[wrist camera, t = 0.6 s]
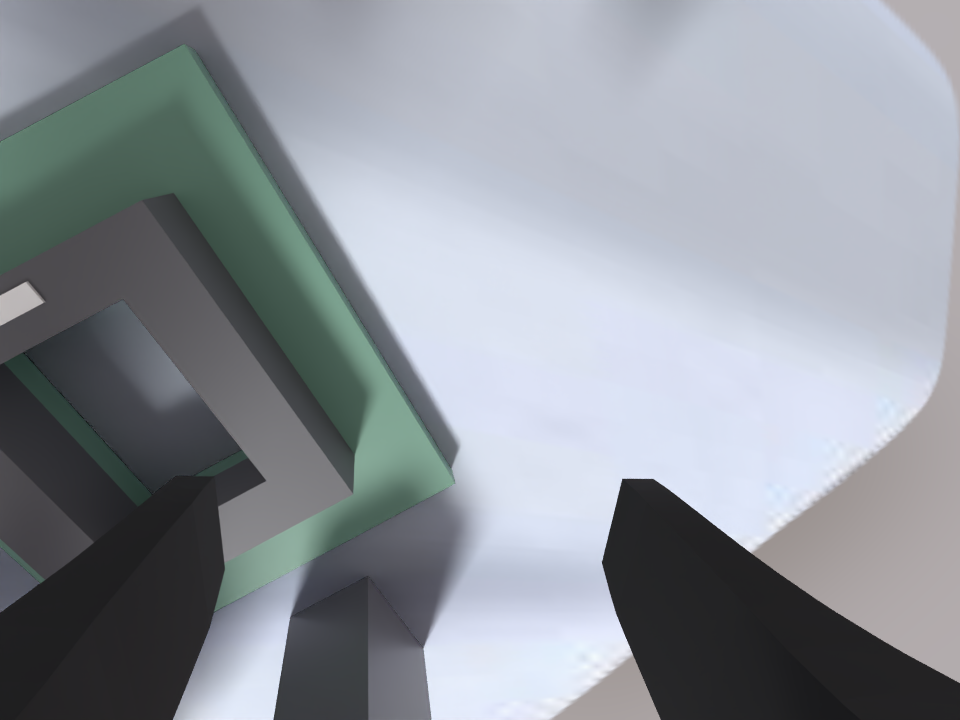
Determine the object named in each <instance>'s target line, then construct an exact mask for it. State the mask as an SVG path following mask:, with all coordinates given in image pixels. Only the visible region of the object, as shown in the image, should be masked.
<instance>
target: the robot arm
mask: <svg viewBox="0 0 960 720" xmlns="http://www.w3.org/2000/svg"><path fill="white" fill-rule="evenodd" d="M602 564H603V568H604V572H605V576H606V580H607V583H608V587H609V591H610V594H611V598H612V601H613V604H614V608H615V611H616V614H617V617H618V619H619V622H620V624H621V627H622V629H623V632H624V634H625V636H626V639H627V641H628V644H629V646H630V648H631V651H632V653H633V656H634V658H635V660H636V663H637V665H638V667H639V670H640V672H641V674H642V676H643V679H644V681H645V684H646V686H647V688H648V690H649V693H650V695H651V697H652V700H653V702H654V705H655V707H656V709H657V712H658V714H659V716H660V719H661V720H960V683H958V682H957V681H955V680H953V679H951V678H949V677H947V676H945V675H944V674H942V673H940V672H938V671H936V670H934V669H932V668H931V667H929V666H927V665H925V664H923V663H921V662H919V661H917V660H916V659H914V658H912V657H910V656H908V655H907V654H905V653H903V652H901V651H900V650H898V649H896V648H894V647H893V646H891V645H889V644H887V643H886V642H884V641H882V640H881V639H879V638H877V637H876V636H874V635H872V634H871V633H869V632H867V631H866V630H864V629H862V628H861V627H859V626H858V625H856V624H854V623H853V622H851V621H850V620H848V619H846V618H844V617H843V616H841V615H840V614H838V613H836V612H835V611H833V610H832V609H830V608H829V607H827V606H826V605H824V604H823V603H821V602H820V601H818V600H816V599H815V598H813V597H812V596H811V595H809V594H808V593H806V592H805V591H803V590H802V589H800V588H799V587H798V586H796V585H795V584H793V583H792V582H790V581H789V580H787V579H786V578H785V577H783V576H781V575H780V574H779V573H777V572H776V571H774V570H773V569H772V568H770V567H769V566H767V565H766V564H765V563H764V562H762V561H761V560H760V559H758V558H757V557H755V556H754V555H753V554H751V553H750V552H749V551H747V550H746V549H745V548H743V547H742V546H741V545H739V544H738V543H737V542H736V541H734V540H733V539H732V538H730V537H729V536H728V535H726V534H725V533H724V532H723V531H721V530H720V529H719V528H717V527H716V526H715V525H713V524H712V523H711V522H710V521H708V520H707V519H706V518H705V517H703V516H702V515H701V514H699V513H698V512H697V511H696V510H694V509H693V508H692V507H690V506H689V505H688V504H687V503H685V502H684V501H683V500H681V499H680V498H679V497H678V496H676V495H675V494H674V493H672V492H671V491H670V490H668V489H667V488H665V487H664V486H663V485H661V484H660V483H658V482H657V481H655V480H654V479H622V483H621V487H620V491H619V495H618V499H617V503H616V507H615V511H614V515H613V520H612V524H611V528H610V532H609V536H608V540H607V544H606V548H605V552H604V556H603V561H602ZM224 572H225V563H224V554H223V545H222V537H221V528H220V519H219V510H218V501H217V492H216V483H215V476H176V477H174V478H173V479H172V480H170V481H169V482H168V483H167V484H165V485H164V486H163V487H162V488H160V489H159V490H158V491H157V492H155V493H154V494H153V495H152V496H151V497H149V498H148V499H147V500H146V501H145V502H143V503H142V504H141V505H140V506H138V507H137V508H136V509H135V510H134V511H132V512H131V513H130V514H129V515H128V516H126V517H125V518H124V519H123V520H121V521H120V522H119V523H118V524H117V525H115V526H114V527H113V528H112V529H110V530H109V531H108V532H107V533H105V534H104V535H103V536H102V537H100V538H99V539H98V540H97V541H95V542H94V543H93V544H92V545H90V546H89V547H88V548H87V549H85V550H84V551H83V552H82V553H80V554H79V555H78V556H77V557H75V558H74V559H73V560H71V561H70V562H69V563H67V564H66V565H65V566H63V567H62V568H61V569H59V570H58V571H57V572H55V573H54V574H52V575H51V576H50V577H48V578H47V579H46V580H44V581H43V582H42V583H40V584H39V585H38V586H36V587H35V588H33V589H32V590H31V591H29V592H28V593H27V594H25V595H24V596H23V597H21V598H20V599H18V600H17V601H16V602H14V603H13V604H12V605H10V606H9V607H8V608H6V609H5V610H3V611H2V612H1V613H0V720H173V718H174V715H175V713H176V710H177V708H178V705H179V703H180V700H181V698H182V695H183V693H184V691H185V688H186V686H187V683H188V681H189V678H190V676H191V673H192V671H193V668H194V666H195V663H196V661H197V658H198V656H199V653H200V651H201V648H202V646H203V643H204V640H205V638H206V635H207V633H208V630H209V628H210V624H211V620H212V617H213V613H214V610H215V606H216V603H217V599H218V595H219V591H220V587H221V583H222V579H223V576H224Z"/></svg>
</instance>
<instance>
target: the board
mask: <svg viewBox="0 0 960 720" xmlns="http://www.w3.org/2000/svg"><path fill="white" fill-rule="evenodd" d="M122 299H123V300H124V301H125V302H126V304H127V305H128V306H129V307H130V309H131V310H132V311H133V312H134V314H135V315H136V316H137V317H138V319H139V320H140V321H141V323H142V324H143V325H144V326H145V328H146V329H147V330H148V331H149V333H150V334H151V335H152V336H153V338H154V339H155V340H156V342H157V343H158V344H159V345H160V347H161V348H162V349H163V350H164V352H165V353H166V354H167V355H168V357H169V358H170V359H171V360H172V362H173V363H174V364H175V366H176V367H177V368H178V369H179V371H180V372H181V373H182V374H183V376H184V377H185V378H186V379H187V381H188V382H189V383H190V385H191V386H192V387H193V388H194V390H195V391H196V392H197V393H198V395H199V396H200V397H201V398H202V400H203V401H204V402H205V404H206V405H207V406H208V407H209V409H210V410H211V411H212V412H213V414H214V415H215V416H216V417H217V419H218V420H219V421H220V423H221V424H222V425H223V426H224V428H225V429H226V430H227V431H228V433H229V434H230V435H231V436H232V438H233V439H234V440H235V441H236V443H237V444H238V445H239V447H240V448H241V449H242V450H241V451H239V452H237V453H235V454H233V455H232V456H230V457H228V458H226V459H224V460H222V461H220V462H218V463H216V464H215V465H213V466H211V467H209V468H207V469H205V470H203V471H201V472H200V473H198V474H196V475H194V476H215V483H216V492H217V501H218V510H219V519H220V528H221V537H222V545H223V554H224V563H225V572H224V576H223V579H222V583H221V587H220V591H219V595H218V599H217V603H216V606H215V610H214V612H215V611H217V610H219V609H221V608H223V607H225V606H227V605H228V604H230V603H232V602H234V601H236V600H238V599H240V598H242V597H243V596H245V595H247V594H249V593H251V592H253V591H255V590H257V589H258V588H260V587H262V586H264V585H266V584H268V583H270V582H272V581H273V580H275V579H277V578H279V577H281V576H283V575H285V574H287V573H288V572H290V571H292V570H294V569H296V568H298V567H300V566H302V565H303V564H305V563H307V562H309V561H311V560H313V559H315V558H317V557H318V556H320V555H322V554H324V553H326V552H328V551H330V550H332V549H333V548H335V547H337V546H339V545H341V544H343V543H345V542H347V541H348V540H350V539H352V538H354V537H356V536H358V535H360V534H362V533H363V532H365V531H367V530H369V529H371V528H373V527H375V526H377V525H378V524H380V523H382V522H384V521H386V520H388V519H390V518H392V517H393V516H395V515H397V514H399V513H401V512H403V511H405V510H407V509H408V508H410V507H412V506H414V505H416V504H418V503H420V502H422V501H423V500H425V499H427V498H429V497H431V496H433V495H435V494H437V493H438V492H440V491H442V490H444V489H446V488H448V487H450V486H452V485H453V484H455V481H454V477H453V473H452V469H451V468H450V466H449V465H448V463H447V461H446V460H445V458H444V456H443V455H442V453H441V451H440V450H439V448H438V447H437V445H436V443H435V442H434V440H433V438H432V437H431V435H430V434H429V432H428V430H427V429H426V427H425V425H424V424H423V422H422V420H421V419H420V417H419V416H418V414H417V412H416V411H415V409H414V407H413V406H412V404H411V402H410V401H409V399H408V398H407V396H406V394H405V393H404V391H403V389H402V388H401V386H400V384H399V383H398V381H397V380H396V378H395V376H394V375H393V373H392V371H391V370H390V368H389V367H388V365H387V363H386V362H385V360H384V358H383V357H382V355H381V353H380V352H379V350H378V349H377V347H376V345H375V344H374V342H373V340H372V339H371V337H370V335H369V334H368V332H367V331H366V329H365V327H364V326H363V324H362V322H361V321H360V319H359V317H358V316H357V314H356V313H355V311H354V309H353V308H352V306H351V304H350V303H349V301H348V300H347V298H346V296H345V295H344V293H343V291H342V290H341V288H340V286H339V285H338V283H337V282H336V280H335V278H334V277H333V275H332V273H331V272H330V270H329V268H328V267H327V265H326V264H325V262H324V260H323V259H322V257H321V255H320V254H319V252H318V250H317V249H316V247H315V246H314V244H313V242H312V241H311V239H310V237H309V236H308V234H307V232H306V231H305V229H304V228H303V226H302V224H301V223H300V221H299V219H298V218H297V216H296V215H295V213H294V211H293V210H292V208H291V206H290V205H289V203H288V201H287V200H286V198H285V197H284V195H283V193H282V192H281V190H280V188H279V187H278V185H277V183H276V182H275V180H274V179H273V177H272V175H271V174H270V172H269V170H268V169H267V167H266V165H265V164H264V162H263V161H262V159H261V157H260V156H259V154H258V152H257V151H256V149H255V148H254V146H253V144H252V143H251V141H250V139H249V138H248V136H247V134H246V133H245V131H244V130H243V128H242V126H241V125H240V123H239V121H238V120H237V118H236V116H235V115H234V113H233V112H232V110H231V108H230V107H229V105H228V103H227V102H226V100H225V98H224V97H223V95H222V94H221V92H220V90H219V89H218V87H217V85H216V84H215V82H214V80H213V79H212V77H211V76H210V74H209V72H208V71H207V69H206V67H205V66H204V64H203V63H202V61H201V59H200V58H199V56H198V54H197V53H196V51H195V50H194V49H192V48H191V47H189V46H187V45H185V44H183V45H181V46H179V47H178V48H176V49H174V50H172V51H170V52H168V53H166V54H164V55H162V56H161V57H159V58H157V59H155V60H153V61H151V62H149V63H147V64H146V65H144V66H142V67H140V68H138V69H136V70H134V71H132V72H130V73H129V74H127V75H125V76H123V77H121V78H119V79H117V80H115V81H114V82H112V83H110V84H108V85H106V86H104V87H102V88H100V89H98V90H97V91H95V92H93V93H91V94H89V95H87V96H85V97H83V98H82V99H80V100H78V101H76V102H74V103H72V104H70V105H68V106H66V107H65V108H63V109H61V110H59V111H57V112H55V113H53V114H51V115H50V116H48V117H46V118H44V119H42V120H40V121H38V122H36V123H34V124H33V125H31V126H29V127H27V128H25V129H23V130H21V131H19V132H18V133H16V134H14V135H12V136H10V137H8V138H6V139H4V140H2V141H1V142H0V547H1V548H2V549H3V550H4V551H5V552H6V553H7V554H9V555H10V556H11V557H12V558H13V559H14V560H15V561H16V562H17V563H18V564H20V565H21V566H22V567H23V568H24V569H25V570H26V571H27V572H28V573H30V574H31V575H32V576H33V577H34V578H35V579H36V580H37V581H38V582H40V583H42V582H43V581H44V580H46V579H47V578H48V577H50V576H51V575H52V574H54V573H55V572H57V571H58V570H59V569H61V568H62V567H63V566H65V565H66V564H67V563H69V562H70V561H71V560H73V559H74V558H75V557H77V556H78V555H79V554H80V553H82V552H83V551H84V550H85V549H87V548H88V547H89V546H90V545H92V544H93V543H94V542H95V541H97V540H98V539H99V538H100V537H102V536H103V535H104V534H105V533H107V532H108V531H109V530H110V529H112V528H113V527H114V526H115V525H117V524H118V523H119V522H120V521H121V520H123V519H124V518H125V517H126V516H128V515H129V514H130V513H131V512H132V511H134V510H135V509H136V508H137V507H138V506H140V505H141V504H142V503H143V502H145V501H146V500H147V499H148V498H149V497H151V496H152V494H151V493H150V492H149V491H148V490H147V489H146V487H145V486H144V485H143V484H142V483H141V482H140V481H139V480H138V479H137V478H136V476H135V475H134V474H133V473H132V472H131V471H130V470H129V469H128V468H127V466H126V465H125V464H124V463H123V462H122V461H121V460H120V459H119V458H118V457H117V455H116V454H115V453H114V452H113V451H112V450H111V449H110V448H109V447H108V446H107V444H106V443H105V442H104V441H103V440H102V439H101V438H100V437H99V436H98V435H97V433H96V432H95V431H94V430H93V429H92V428H91V427H90V426H89V425H88V424H87V422H86V421H85V420H84V419H83V418H82V417H81V416H80V415H79V414H78V413H77V411H76V410H75V409H74V408H73V407H72V406H71V405H70V404H69V403H68V402H67V400H66V399H65V398H64V397H63V396H62V395H61V394H60V393H59V392H58V391H57V389H56V388H55V387H54V386H53V385H52V384H51V383H50V382H49V381H48V380H47V378H46V377H45V376H44V375H43V374H42V373H41V372H40V371H39V370H38V368H37V367H36V366H35V365H34V364H33V363H32V362H31V361H30V360H29V359H28V357H27V356H26V355H25V354H24V353H23V352H25V351H27V350H28V349H30V348H32V347H34V346H36V345H38V344H40V343H42V342H43V341H45V340H47V339H49V338H51V337H53V336H55V335H57V334H58V333H60V332H62V331H64V330H66V329H68V328H70V327H72V326H73V325H75V324H77V323H79V322H81V321H83V320H85V319H87V318H89V317H90V316H92V315H94V314H96V313H98V312H100V311H102V310H104V309H105V308H107V307H109V306H111V305H113V304H115V303H117V302H119V301H120V300H122Z"/></svg>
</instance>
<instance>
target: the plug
mask: <svg viewBox="0 0 960 720" xmlns="http://www.w3.org/2000/svg"><path fill="white" fill-rule="evenodd" d="M274 720H431V712H430V703H429V694H428V685H427V676H426V668H425V659H424V650H423V647H422V646H421V645H420V643H419V642H418V641H417V639H416V638H415V637H414V636H413V634H412V633H411V632H410V630H409V629H408V628H407V626H406V625H405V624H404V622H403V621H402V620H401V619H400V617H399V616H398V615H397V613H396V612H395V611H394V609H393V608H392V607H391V605H390V604H389V603H388V601H387V600H386V599H385V598H384V596H383V595H382V594H381V592H380V591H379V590H378V588H377V587H376V586H375V584H374V583H373V582H372V581H371V579H370V578H369V577H368V576H367V577H365V578H363V579H361V580H359V581H357V582H356V583H354V584H352V585H350V586H348V587H346V588H344V589H342V590H341V591H339V592H337V593H335V594H333V595H331V596H329V597H328V598H326V599H324V600H322V601H320V602H318V603H316V604H314V605H313V606H311V607H309V608H307V609H305V610H303V611H301V612H299V613H298V614H296V615H294V616H292V617H290V622H289V628H288V634H287V640H286V646H285V653H284V659H283V665H282V671H281V677H280V683H279V689H278V695H277V702H276V708H275V714H274Z"/></svg>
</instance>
